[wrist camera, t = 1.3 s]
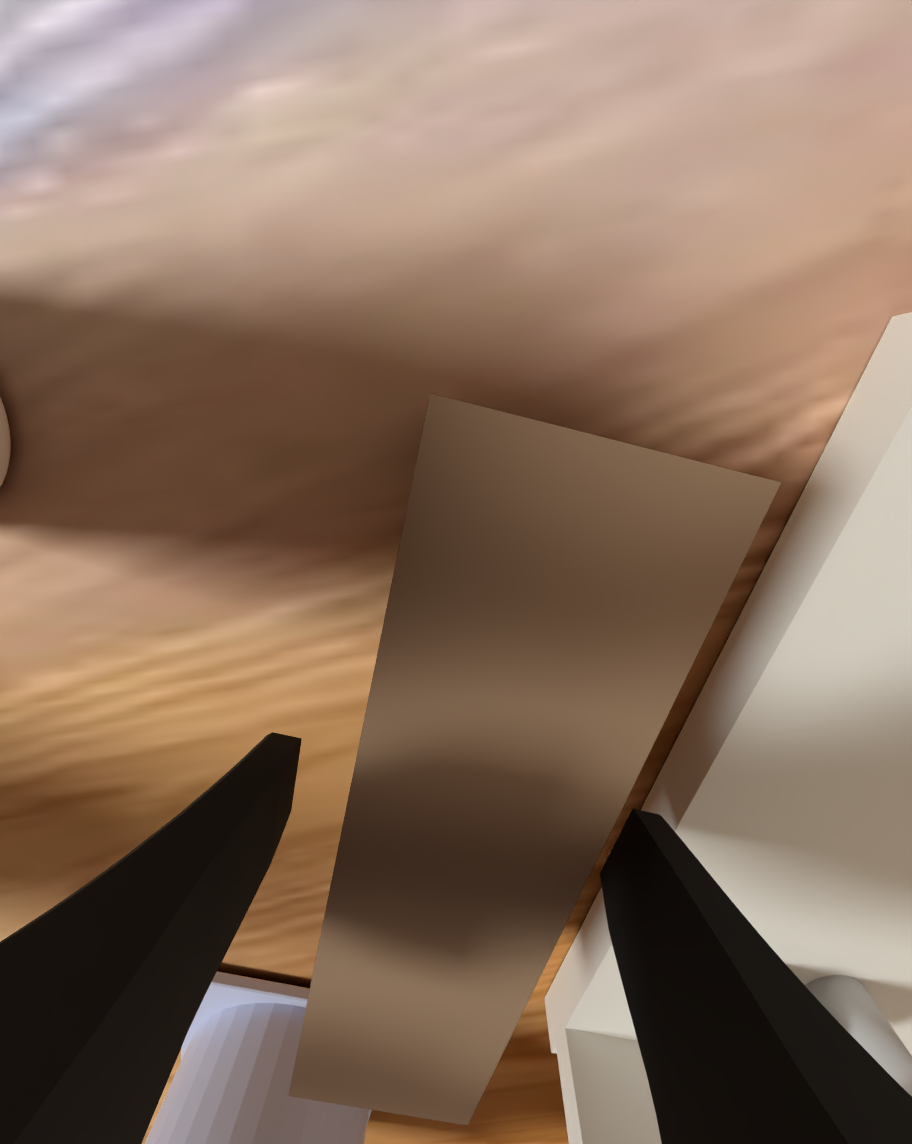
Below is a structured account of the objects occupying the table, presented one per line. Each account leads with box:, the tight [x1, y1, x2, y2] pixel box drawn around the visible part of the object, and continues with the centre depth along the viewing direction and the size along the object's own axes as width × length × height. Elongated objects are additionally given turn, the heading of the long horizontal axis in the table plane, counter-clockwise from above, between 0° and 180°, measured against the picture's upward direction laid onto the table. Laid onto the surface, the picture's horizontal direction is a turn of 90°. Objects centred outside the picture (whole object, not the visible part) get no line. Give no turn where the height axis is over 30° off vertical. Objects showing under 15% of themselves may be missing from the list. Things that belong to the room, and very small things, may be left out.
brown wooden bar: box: [288, 393, 781, 1126], centre depth 10 cm, size 16×4×5 cm, turn 167°
